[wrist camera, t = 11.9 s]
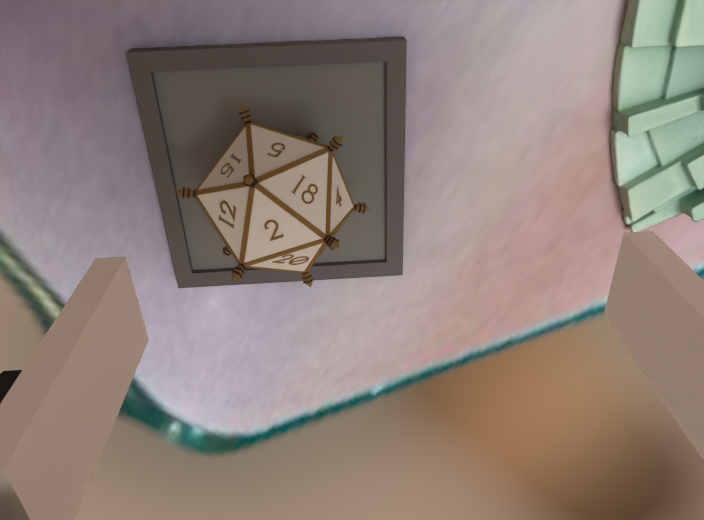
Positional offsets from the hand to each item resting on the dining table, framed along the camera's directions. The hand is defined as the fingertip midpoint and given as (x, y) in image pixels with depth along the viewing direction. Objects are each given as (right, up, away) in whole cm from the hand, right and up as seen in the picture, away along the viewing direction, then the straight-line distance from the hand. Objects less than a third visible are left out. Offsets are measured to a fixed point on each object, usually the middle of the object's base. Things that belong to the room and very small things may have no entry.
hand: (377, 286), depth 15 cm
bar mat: (-5, +6, +18) cm, 19 cm away
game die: (-5, +6, +17) cm, 19 cm away
